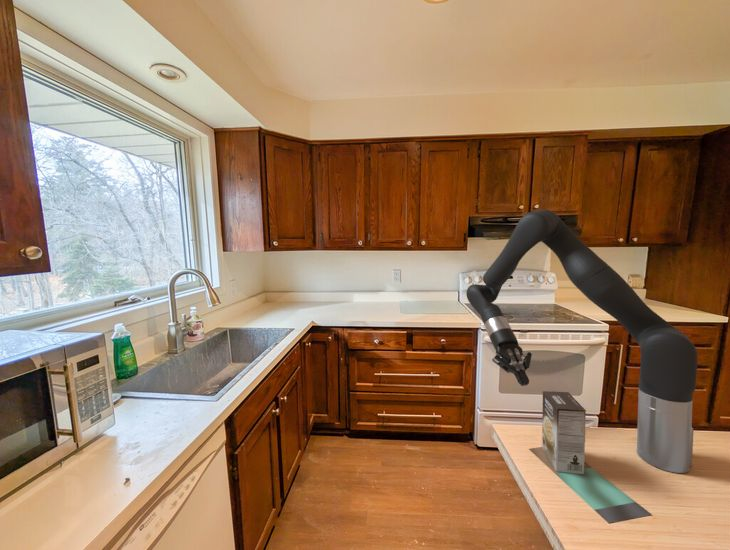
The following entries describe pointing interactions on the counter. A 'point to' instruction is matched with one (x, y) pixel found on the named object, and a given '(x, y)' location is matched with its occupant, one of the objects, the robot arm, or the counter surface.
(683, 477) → the counter surface
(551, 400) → the coffee box
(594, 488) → the mat
